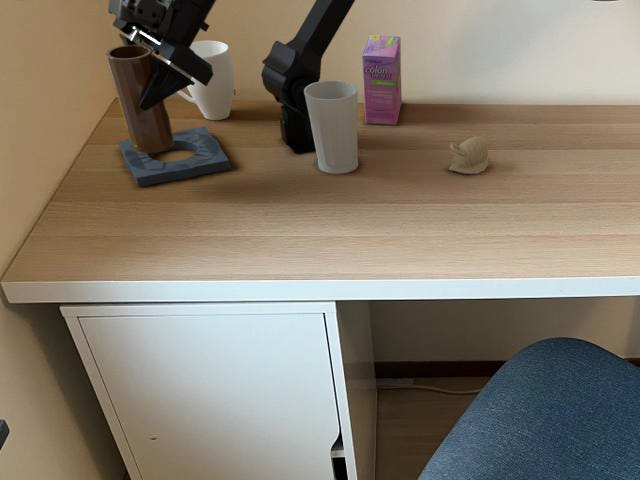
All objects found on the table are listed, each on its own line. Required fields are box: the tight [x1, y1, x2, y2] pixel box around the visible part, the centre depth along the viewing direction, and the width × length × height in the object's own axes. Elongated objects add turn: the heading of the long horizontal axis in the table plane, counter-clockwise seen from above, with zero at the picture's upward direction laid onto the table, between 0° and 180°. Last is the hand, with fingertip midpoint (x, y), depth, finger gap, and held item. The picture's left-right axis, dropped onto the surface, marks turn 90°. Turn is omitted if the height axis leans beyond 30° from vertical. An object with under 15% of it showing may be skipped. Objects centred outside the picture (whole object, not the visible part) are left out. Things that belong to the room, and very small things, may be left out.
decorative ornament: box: [447, 136, 490, 175], centre depth 123 cm, size 4×8×5 cm, turn 129°
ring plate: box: [117, 126, 231, 188], centre depth 124 cm, size 14×14×2 cm
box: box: [361, 34, 403, 126], centre depth 137 cm, size 10×6×12 cm, turn 179°
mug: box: [175, 40, 236, 121], centre depth 133 cm, size 12×8×11 cm
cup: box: [304, 79, 359, 175], centre depth 121 cm, size 8×8×12 cm
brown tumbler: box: [105, 44, 174, 153], centre depth 109 cm, size 6×6×13 cm
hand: (132, 101), depth 108 cm, fingers closed on brown tumbler, 6 cm apart
